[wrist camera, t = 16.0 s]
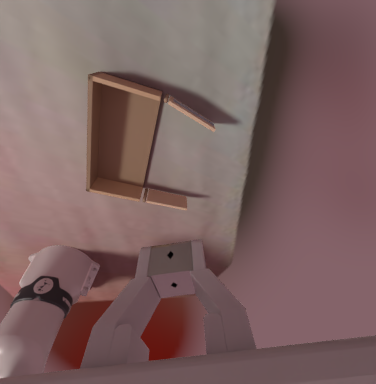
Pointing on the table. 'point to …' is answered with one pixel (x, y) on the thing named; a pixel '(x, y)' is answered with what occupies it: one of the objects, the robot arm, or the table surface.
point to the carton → (119, 134)
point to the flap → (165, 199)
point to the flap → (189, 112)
